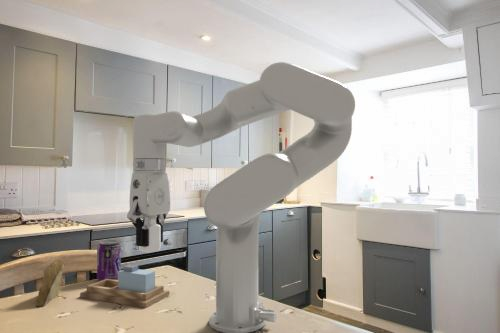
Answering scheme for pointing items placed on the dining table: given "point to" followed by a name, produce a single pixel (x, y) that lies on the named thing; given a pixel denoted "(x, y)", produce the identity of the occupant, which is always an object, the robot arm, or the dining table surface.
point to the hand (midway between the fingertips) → (149, 243)
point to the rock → (50, 283)
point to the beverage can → (108, 260)
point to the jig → (123, 294)
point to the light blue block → (136, 279)
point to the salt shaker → (152, 236)
